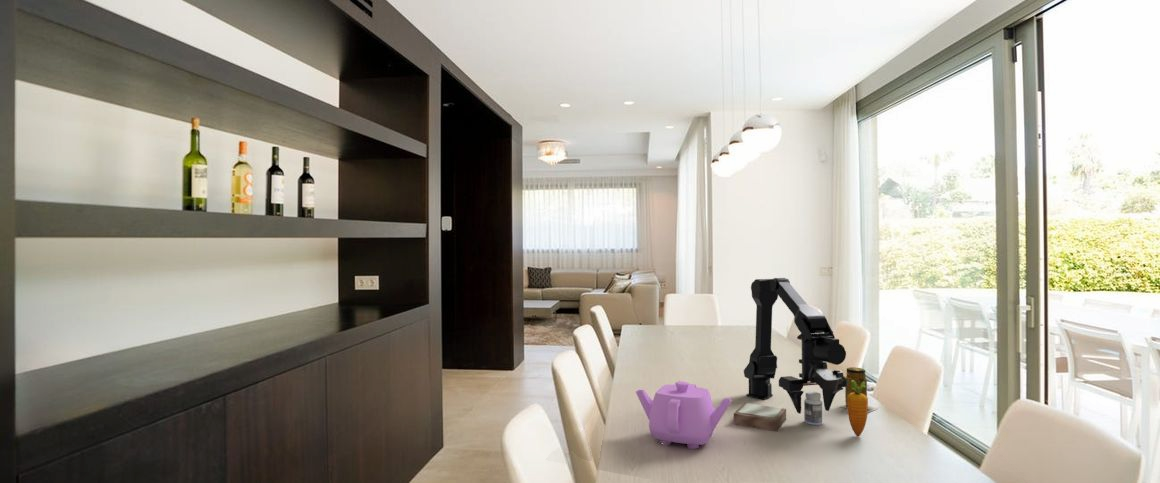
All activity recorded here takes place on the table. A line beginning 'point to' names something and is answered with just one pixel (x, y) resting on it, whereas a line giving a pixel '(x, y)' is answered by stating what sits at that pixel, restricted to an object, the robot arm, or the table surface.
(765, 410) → the pedestal
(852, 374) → the condiment
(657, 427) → the teapot
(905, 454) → the table surface
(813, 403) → the pill bottle
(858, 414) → the carrot
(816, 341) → the robot arm
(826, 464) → the table surface
